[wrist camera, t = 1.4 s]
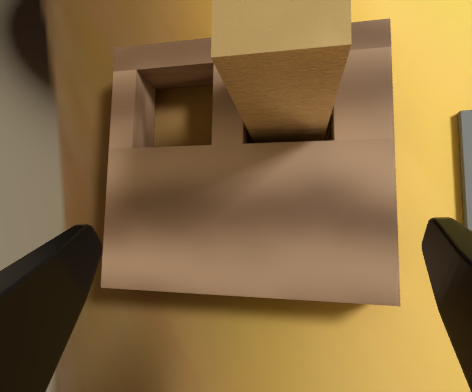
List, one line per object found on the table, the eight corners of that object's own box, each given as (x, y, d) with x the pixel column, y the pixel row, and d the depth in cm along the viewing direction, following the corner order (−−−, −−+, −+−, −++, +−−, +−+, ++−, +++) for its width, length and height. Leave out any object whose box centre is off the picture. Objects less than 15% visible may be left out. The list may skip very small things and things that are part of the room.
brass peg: (321, 145, 21) (351, 44, 9) (256, 148, 22) (211, 57, 10) (320, 83, 22) (348, -88, 10) (257, 87, 23) (214, -65, 11)
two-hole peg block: (384, 294, 19) (400, 306, 17) (125, 280, 23) (100, 287, 20) (377, 47, 21) (390, 18, 18) (136, 69, 25) (114, 47, 22)
